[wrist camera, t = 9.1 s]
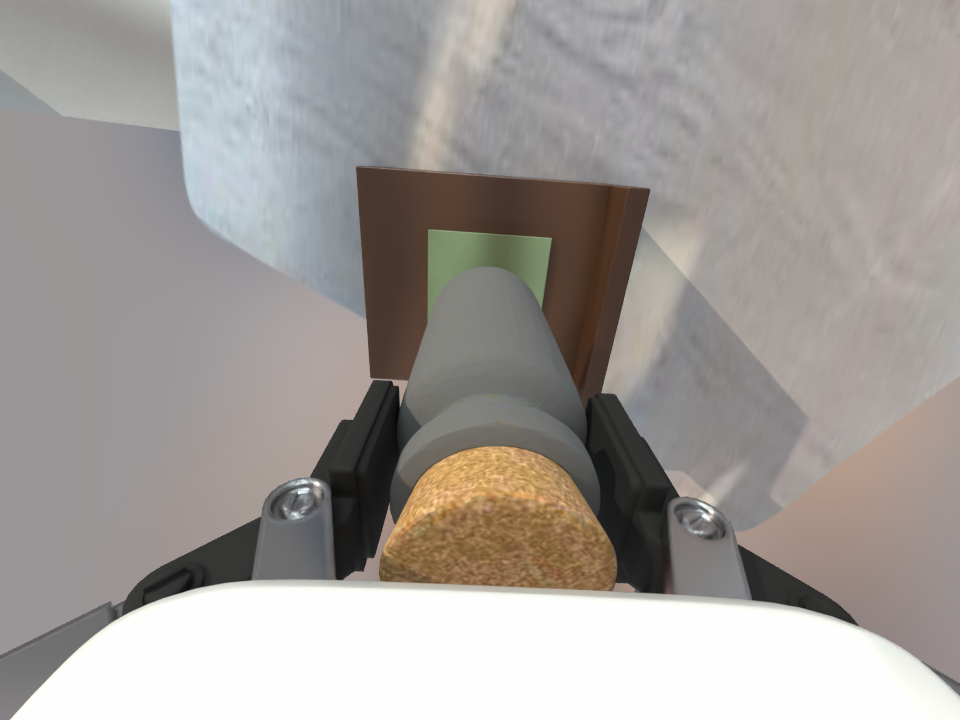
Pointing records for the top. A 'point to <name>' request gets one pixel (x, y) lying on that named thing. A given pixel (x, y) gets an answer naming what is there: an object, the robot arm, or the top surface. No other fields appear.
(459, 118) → the top surface
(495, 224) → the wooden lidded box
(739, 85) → the top surface
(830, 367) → the top surface
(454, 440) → the bottle
